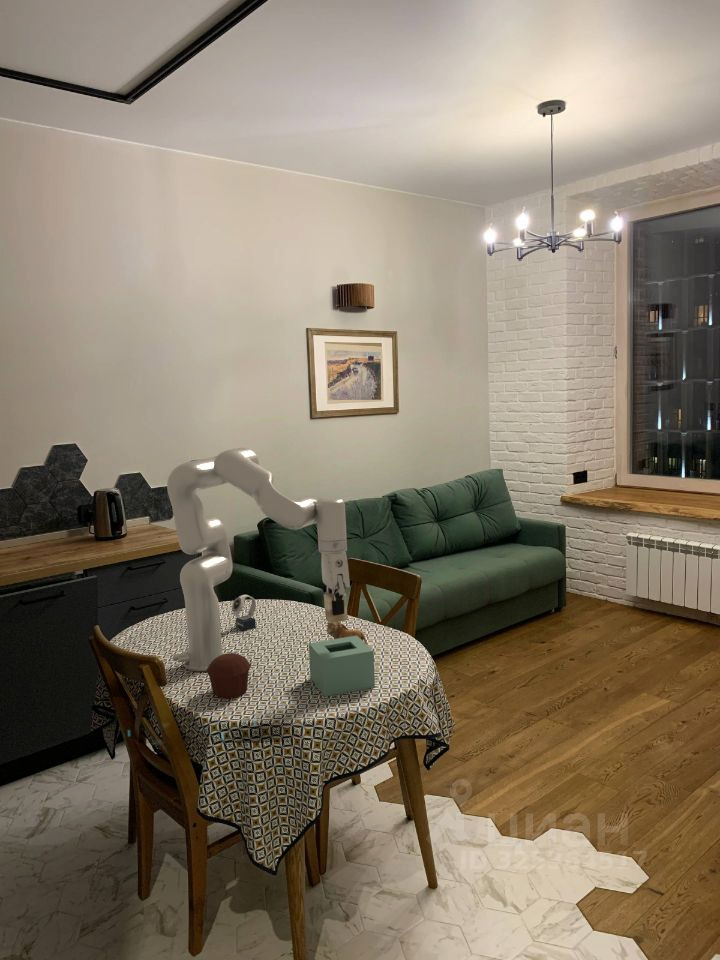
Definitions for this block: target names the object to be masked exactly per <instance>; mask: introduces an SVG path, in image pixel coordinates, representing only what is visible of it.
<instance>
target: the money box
mask: <svg viewBox="0 0 720 960" xmlns="http://www.w3.org/2000/svg"><path fill="white" fill-rule="evenodd" d="M374 652H375V651H374V649H372V648H371V647H370V646H369V645H368V643H367V644H366V643H365V642H364V640H363V641H362V640H361V639H360V638H359V637H358V636H351V637H345V638H339V639H334V638H333V639H327V640H322V641H321V640H320V641H315V642H310V643H308V654H309V658H308V659H309V675H310V679H311V681H312V682H313V684H314V685H315V686H316V688H317V689H318V690H319V691H320V692H321V694H322V696H323V697H328V696H336V695H340V694H341V695H342V694H345V693H351V692H356V691H361V690H367V689H372V688H375V687H376V681H375V680H376V677H375V676H376V675H375V655H374V654H375V653H374Z"/></svg>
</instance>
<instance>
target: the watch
mask: <svg viewBox="0 0 720 960" xmlns="http://www.w3.org/2000/svg"><path fill="white" fill-rule="evenodd" d="M246 598H249V599H250V600H251V604H250V607H249V610H248V613H247V614H246V615H242V616H241V617H240V616H239V615H240V612H241V611H242V610H243V608H244V605H245V600H246ZM231 606H232V607H231V610H232V613H233V614H234V616H235V627H236V628H237V629H238V630H242V631H243V632H246V631H249V630H253V629H256V627H257V626H256V618H254V617H253V616H254V614H255V612H256V609H257V603H256V599H255V598H254V597H253V596H250V595H248V594H242V595H239V596H238V597H236V598H235V599H234V600H233V602H232V605H231Z"/></svg>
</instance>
